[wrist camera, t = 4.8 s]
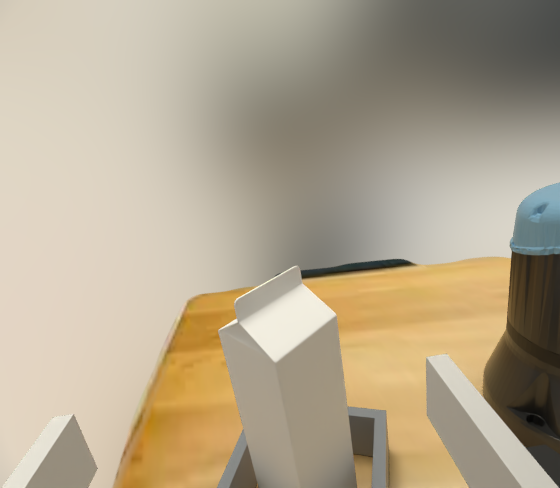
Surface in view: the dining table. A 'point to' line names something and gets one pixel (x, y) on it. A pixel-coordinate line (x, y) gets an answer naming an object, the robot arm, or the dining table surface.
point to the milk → (290, 386)
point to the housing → (365, 441)
